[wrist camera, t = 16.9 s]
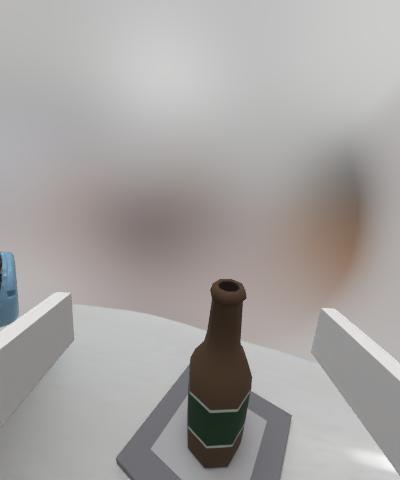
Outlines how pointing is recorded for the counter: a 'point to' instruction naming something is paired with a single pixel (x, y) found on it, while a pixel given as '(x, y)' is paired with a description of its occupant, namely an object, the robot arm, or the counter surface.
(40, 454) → the counter surface
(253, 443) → the picture frame
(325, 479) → the counter surface
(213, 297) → the beer bottle
